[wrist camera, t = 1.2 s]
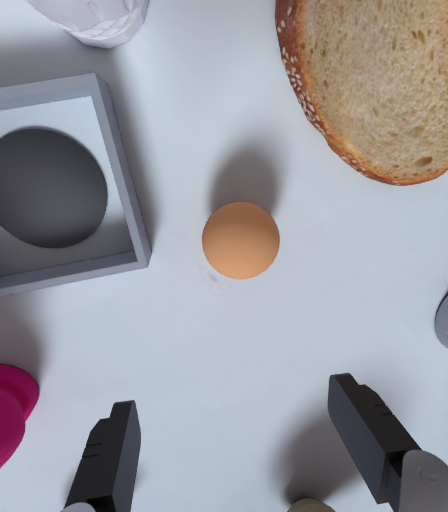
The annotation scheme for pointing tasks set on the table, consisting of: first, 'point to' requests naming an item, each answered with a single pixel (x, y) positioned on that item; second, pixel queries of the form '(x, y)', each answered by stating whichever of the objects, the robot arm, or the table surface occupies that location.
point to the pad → (49, 189)
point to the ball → (240, 240)
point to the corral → (121, 172)
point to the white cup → (95, 19)
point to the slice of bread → (372, 81)
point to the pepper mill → (14, 408)
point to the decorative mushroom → (309, 506)
